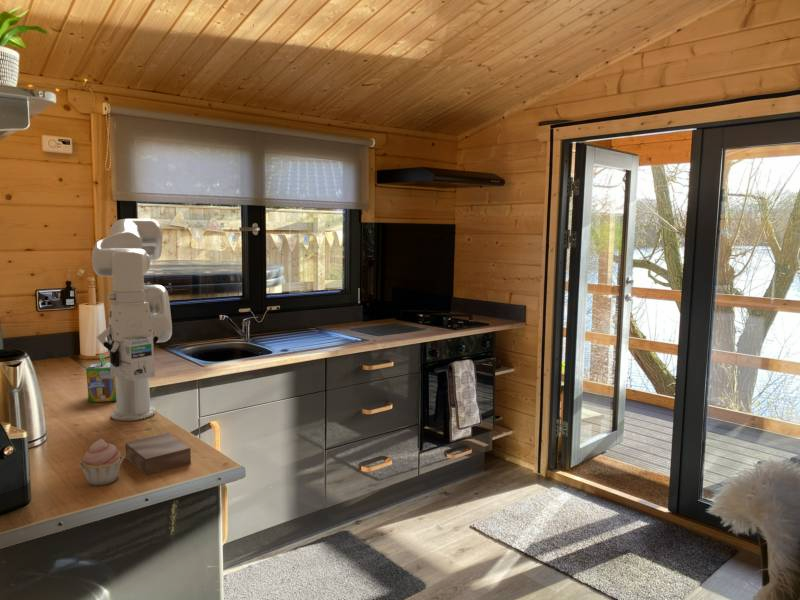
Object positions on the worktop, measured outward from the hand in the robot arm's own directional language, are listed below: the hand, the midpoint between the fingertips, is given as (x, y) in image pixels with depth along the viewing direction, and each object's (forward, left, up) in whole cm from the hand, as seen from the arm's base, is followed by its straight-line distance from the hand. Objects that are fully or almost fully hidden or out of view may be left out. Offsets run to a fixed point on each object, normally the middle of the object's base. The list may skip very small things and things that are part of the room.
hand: (132, 363), depth 167 cm
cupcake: (+19, -14, -22) cm, 32 cm away
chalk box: (-48, +7, -22) cm, 53 cm away
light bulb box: (0, 0, -4) cm, 4 cm away
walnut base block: (+15, 0, -22) cm, 27 cm away
